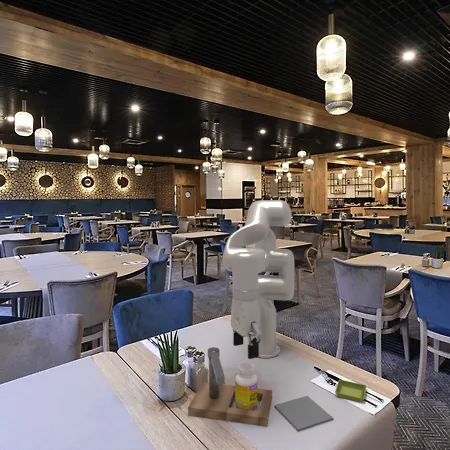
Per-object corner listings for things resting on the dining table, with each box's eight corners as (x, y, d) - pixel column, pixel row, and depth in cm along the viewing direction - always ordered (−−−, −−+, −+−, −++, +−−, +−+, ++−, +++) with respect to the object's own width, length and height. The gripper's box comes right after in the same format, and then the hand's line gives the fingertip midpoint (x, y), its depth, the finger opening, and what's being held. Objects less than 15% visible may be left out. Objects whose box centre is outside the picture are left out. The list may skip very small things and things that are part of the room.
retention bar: (207, 354, 106) (207, 347, 106) (218, 353, 107) (218, 346, 106) (214, 385, 88) (213, 377, 88) (227, 383, 89) (227, 376, 89)
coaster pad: (274, 407, 104) (274, 405, 104) (307, 397, 108) (307, 395, 108) (297, 431, 93) (297, 429, 93) (333, 419, 97) (333, 417, 97)
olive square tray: (339, 384, 116) (339, 378, 116) (366, 391, 112) (366, 385, 112) (334, 398, 108) (334, 392, 108) (364, 405, 105) (364, 399, 104)
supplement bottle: (251, 418, 99) (250, 375, 98) (231, 410, 102) (230, 369, 101) (261, 405, 104) (261, 365, 103) (242, 399, 108) (241, 359, 107)
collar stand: (188, 415, 100) (187, 365, 99) (202, 389, 114) (201, 345, 113) (266, 426, 95) (266, 374, 94) (272, 397, 108) (272, 352, 107)
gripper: (222, 288, 107) (222, 342, 108) (247, 303, 91) (247, 366, 92) (243, 286, 110) (243, 338, 111) (271, 300, 94) (271, 361, 95)
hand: (245, 351), depth 101 cm, fingers open, 9 cm apart
